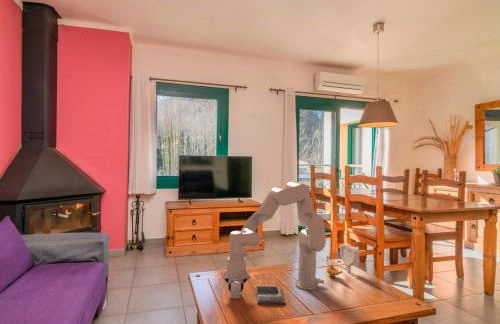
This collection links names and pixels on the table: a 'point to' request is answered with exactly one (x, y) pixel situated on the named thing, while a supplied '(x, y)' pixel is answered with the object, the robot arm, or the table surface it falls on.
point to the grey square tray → (270, 295)
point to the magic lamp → (332, 270)
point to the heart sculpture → (349, 257)
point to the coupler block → (236, 288)
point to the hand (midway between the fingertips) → (235, 290)
